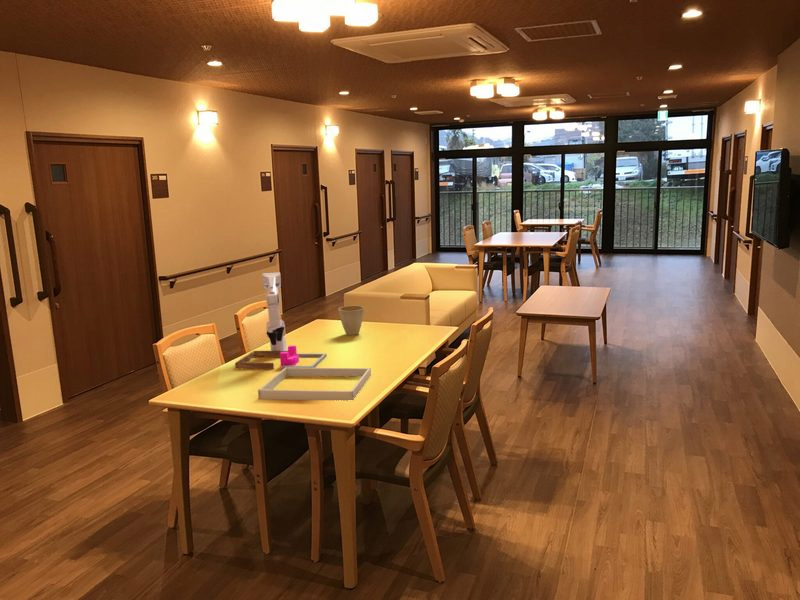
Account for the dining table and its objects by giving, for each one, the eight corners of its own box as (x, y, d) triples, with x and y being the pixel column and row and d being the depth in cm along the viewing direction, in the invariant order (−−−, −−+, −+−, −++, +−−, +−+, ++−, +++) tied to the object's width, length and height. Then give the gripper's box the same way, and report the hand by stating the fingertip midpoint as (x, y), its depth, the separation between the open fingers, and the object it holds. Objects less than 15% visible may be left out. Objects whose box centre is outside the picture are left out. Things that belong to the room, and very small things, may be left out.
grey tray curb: (285, 375, 307) (285, 367, 306) (371, 376, 299) (370, 368, 298) (258, 399, 275) (257, 390, 274) (353, 400, 267) (352, 391, 266)
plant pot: (338, 337, 375) (336, 311, 372) (341, 331, 390) (340, 306, 387) (364, 336, 374) (362, 310, 371) (366, 330, 389) (364, 305, 386)
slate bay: (297, 356, 340) (297, 353, 340) (326, 356, 337) (326, 353, 337) (281, 369, 317) (281, 366, 317) (312, 369, 314) (312, 366, 314)
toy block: (292, 367, 320) (291, 353, 318) (280, 367, 321) (279, 353, 319) (301, 359, 334) (300, 345, 333) (290, 359, 335) (289, 345, 334)
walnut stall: (254, 356, 344) (253, 350, 344) (289, 356, 341) (288, 350, 340) (235, 368, 322) (235, 363, 322) (273, 369, 318) (272, 363, 318)
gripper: (272, 314, 333) (274, 339, 336) (261, 320, 319) (263, 346, 322) (285, 313, 332) (287, 339, 334) (274, 320, 318) (277, 346, 320)
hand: (276, 342), depth 328 cm, fingers open, 7 cm apart
